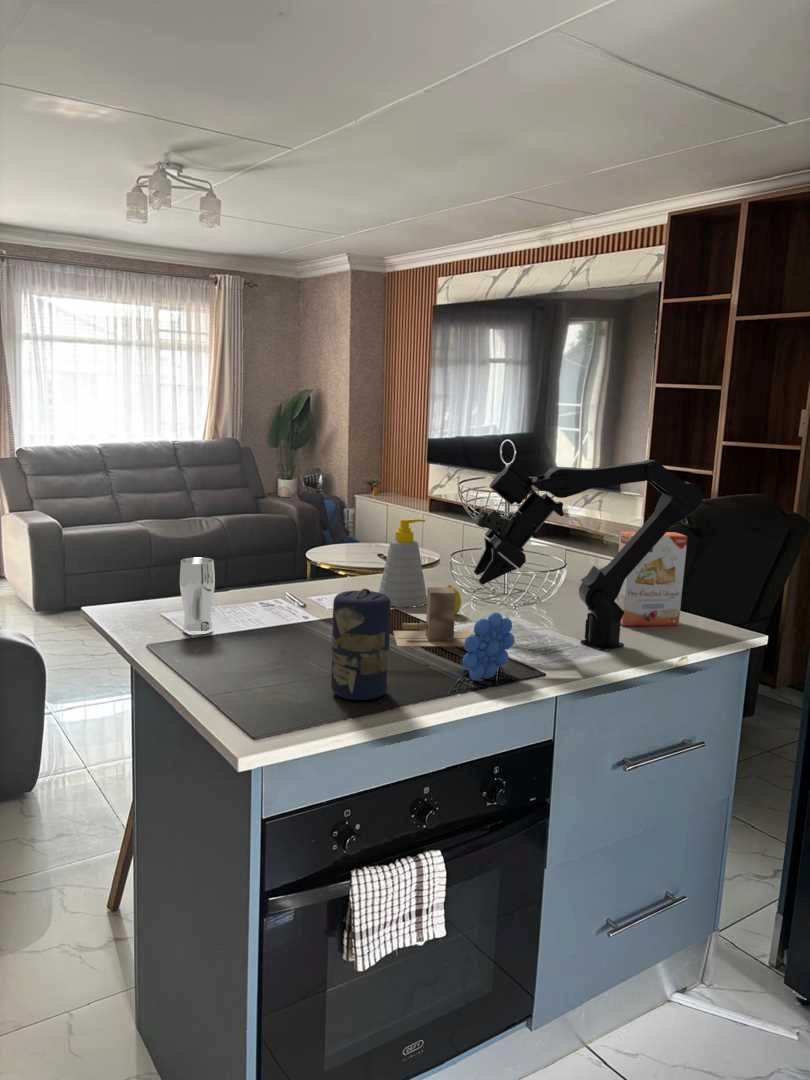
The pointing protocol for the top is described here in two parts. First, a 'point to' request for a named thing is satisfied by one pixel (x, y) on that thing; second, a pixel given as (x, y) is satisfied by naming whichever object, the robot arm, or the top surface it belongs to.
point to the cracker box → (654, 583)
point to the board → (421, 640)
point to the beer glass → (197, 592)
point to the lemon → (456, 599)
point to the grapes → (488, 646)
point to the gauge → (438, 615)
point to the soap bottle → (404, 569)
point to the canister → (360, 644)
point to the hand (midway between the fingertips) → (477, 578)
